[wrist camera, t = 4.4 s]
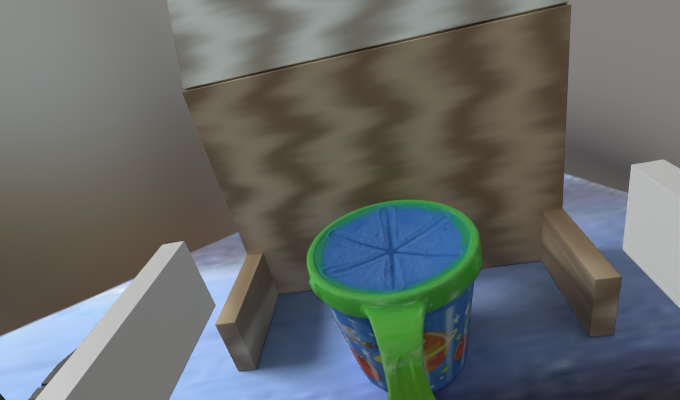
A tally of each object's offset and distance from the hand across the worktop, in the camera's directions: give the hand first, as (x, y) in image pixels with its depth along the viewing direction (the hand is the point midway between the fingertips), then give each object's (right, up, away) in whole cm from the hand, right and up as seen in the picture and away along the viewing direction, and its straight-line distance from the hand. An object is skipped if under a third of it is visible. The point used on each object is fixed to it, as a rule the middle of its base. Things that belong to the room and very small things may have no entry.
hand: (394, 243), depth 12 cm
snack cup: (+4, -10, +17) cm, 20 cm away
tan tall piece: (+4, -5, +25) cm, 26 cm away
